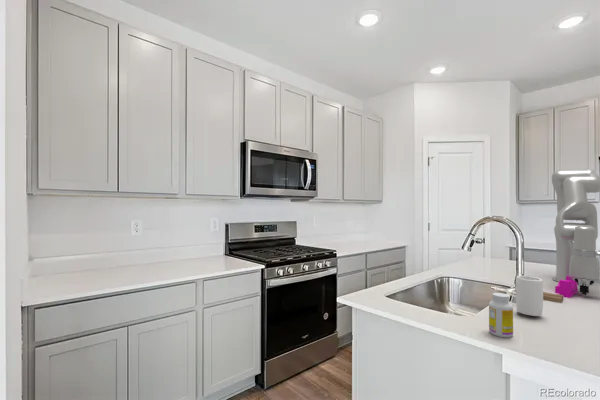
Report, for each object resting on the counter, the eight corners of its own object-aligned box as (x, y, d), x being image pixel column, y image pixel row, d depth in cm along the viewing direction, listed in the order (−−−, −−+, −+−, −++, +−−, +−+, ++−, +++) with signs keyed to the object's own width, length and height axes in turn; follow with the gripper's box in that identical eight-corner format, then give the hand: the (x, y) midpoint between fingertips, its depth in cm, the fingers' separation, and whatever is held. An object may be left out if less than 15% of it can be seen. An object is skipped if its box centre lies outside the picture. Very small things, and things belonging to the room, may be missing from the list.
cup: (547, 320, 115) (547, 281, 115) (520, 318, 117) (520, 279, 117) (537, 312, 123) (537, 276, 123) (512, 310, 126) (512, 274, 126)
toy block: (560, 289, 156) (560, 274, 156) (577, 292, 151) (577, 276, 151) (552, 295, 146) (552, 279, 146) (569, 298, 142) (570, 281, 142)
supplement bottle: (515, 334, 103) (515, 294, 103) (510, 340, 99) (510, 299, 99) (492, 328, 108) (492, 290, 108) (486, 333, 104) (486, 294, 104)
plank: (514, 290, 153) (515, 286, 153) (563, 299, 140) (563, 295, 140) (511, 293, 148) (511, 289, 148) (561, 302, 135) (561, 298, 135)
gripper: (607, 254, 141) (607, 296, 141) (564, 250, 151) (563, 289, 151) (607, 256, 135) (606, 299, 135) (562, 252, 146) (561, 292, 146)
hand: (584, 294), depth 143 cm, fingers closed
